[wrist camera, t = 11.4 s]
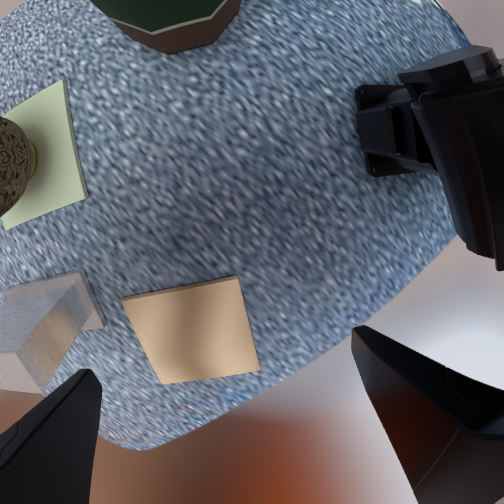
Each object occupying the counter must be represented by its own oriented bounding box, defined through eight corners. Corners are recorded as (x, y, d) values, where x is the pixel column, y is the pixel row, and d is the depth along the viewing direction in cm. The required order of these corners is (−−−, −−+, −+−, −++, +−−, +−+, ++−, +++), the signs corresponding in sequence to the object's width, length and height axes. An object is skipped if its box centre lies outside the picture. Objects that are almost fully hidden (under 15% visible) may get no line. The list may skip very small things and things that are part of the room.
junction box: (83, 268, 19) (15, 345, 10) (107, 322, 21) (62, 410, 12) (8, 287, 19) (-53, 346, 10) (30, 332, 21) (-18, 398, 12)
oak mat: (237, 275, 21) (237, 278, 20) (259, 365, 24) (260, 370, 23) (123, 297, 21) (121, 301, 20) (162, 379, 24) (162, 384, 23)
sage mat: (66, 80, 14) (62, 79, 14) (88, 197, 18) (85, 198, 17) (-12, 129, 14) (-16, 129, 14) (9, 228, 18) (5, 230, 17)
